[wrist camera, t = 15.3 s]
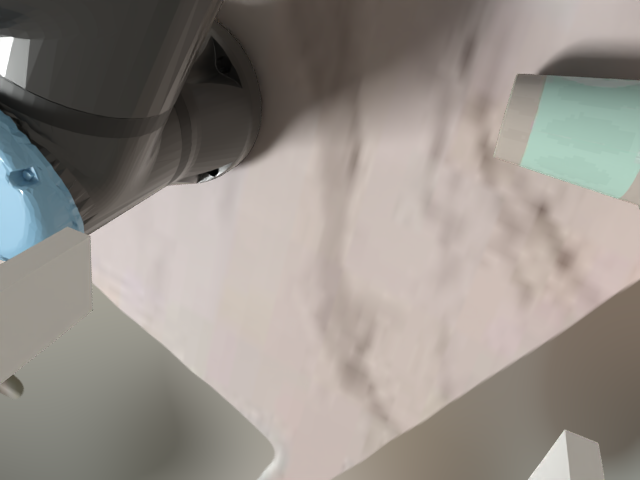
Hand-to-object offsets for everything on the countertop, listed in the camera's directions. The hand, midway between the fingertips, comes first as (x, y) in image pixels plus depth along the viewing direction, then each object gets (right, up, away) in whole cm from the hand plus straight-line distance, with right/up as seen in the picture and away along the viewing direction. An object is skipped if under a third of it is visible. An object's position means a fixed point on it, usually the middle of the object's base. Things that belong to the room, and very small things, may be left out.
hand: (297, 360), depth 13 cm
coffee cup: (+13, +12, +22) cm, 28 cm away
